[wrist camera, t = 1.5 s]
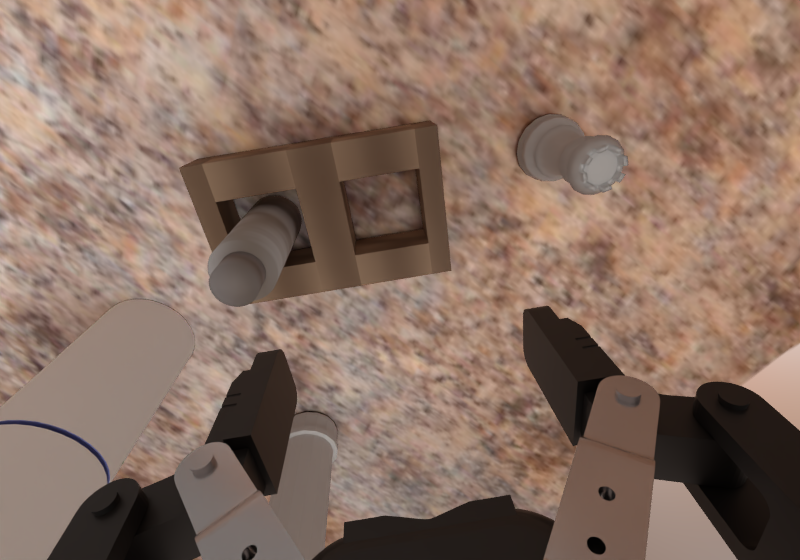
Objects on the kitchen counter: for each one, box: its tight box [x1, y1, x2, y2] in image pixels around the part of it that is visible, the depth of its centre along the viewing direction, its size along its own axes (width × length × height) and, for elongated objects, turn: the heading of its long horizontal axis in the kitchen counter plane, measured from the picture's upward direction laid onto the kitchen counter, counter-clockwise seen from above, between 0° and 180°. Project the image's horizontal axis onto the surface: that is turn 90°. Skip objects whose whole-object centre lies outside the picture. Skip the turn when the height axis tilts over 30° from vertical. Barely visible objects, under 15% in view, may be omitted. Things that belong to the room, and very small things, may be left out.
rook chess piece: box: [517, 114, 628, 195], centre depth 25 cm, size 4×4×8 cm
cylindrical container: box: [0, 299, 195, 560], centre depth 22 cm, size 7×7×25 cm
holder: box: [179, 121, 451, 307], centre depth 25 cm, size 16×10×11 cm, turn 98°
